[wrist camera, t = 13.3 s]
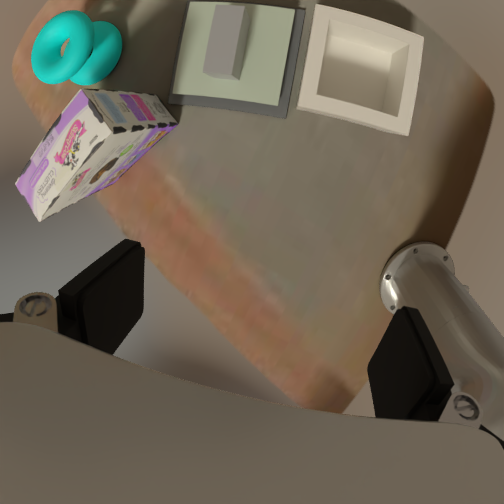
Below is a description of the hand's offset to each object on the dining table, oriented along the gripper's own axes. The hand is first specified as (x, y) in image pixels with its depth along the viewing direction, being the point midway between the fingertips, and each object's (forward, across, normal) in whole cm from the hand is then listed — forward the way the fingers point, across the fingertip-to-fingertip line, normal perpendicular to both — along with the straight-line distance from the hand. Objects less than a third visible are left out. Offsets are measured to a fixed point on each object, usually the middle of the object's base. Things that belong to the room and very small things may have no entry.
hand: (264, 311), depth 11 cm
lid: (+29, +10, -14) cm, 34 cm away
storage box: (+30, -5, -15) cm, 34 cm away
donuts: (+29, +30, -14) cm, 44 cm away
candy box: (+29, +22, -1) cm, 37 cm away
